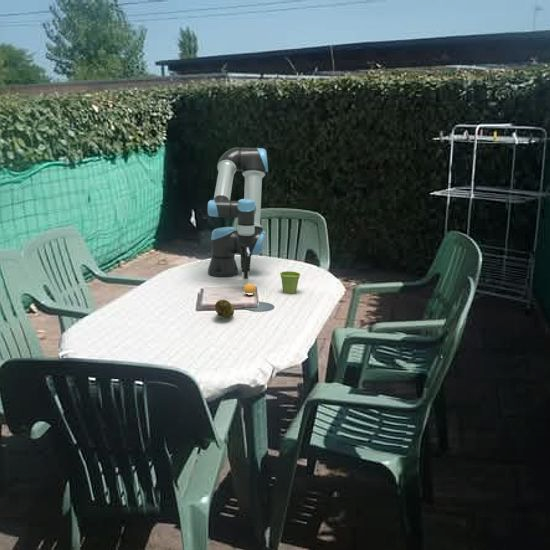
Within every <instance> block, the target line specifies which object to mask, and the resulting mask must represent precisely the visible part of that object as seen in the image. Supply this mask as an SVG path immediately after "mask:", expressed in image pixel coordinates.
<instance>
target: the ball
mask: <svg viewBox="0 0 550 550" xmlns="http://www.w3.org/2000/svg"><path fill="white" fill-rule="evenodd" d="M256 288H257V287H256V285H255V284H253V282H252V283H251V282H248V284H246V285H245V286H244V287H243V293H244V292H245V293H254V292H255V293H256V291H257V289H256ZM245 293H244V294H245ZM255 293H254V294H255Z"/></svg>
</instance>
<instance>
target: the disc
mask: <svg viewBox="0 0 550 550" xmlns="http://www.w3.org/2000/svg"><path fill="white" fill-rule="evenodd" d="M258 302H259V306H258V307H257V308H243V309H244V310H247V311H250V312H257V313H260V312H261V313H263V312H269V311H272V310H274V309H275V305H274V304H272V303H269V302H266V301H265V302H264V301H258Z"/></svg>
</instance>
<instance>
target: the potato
mask: <svg viewBox="0 0 550 550" xmlns="http://www.w3.org/2000/svg"><path fill="white" fill-rule="evenodd" d="M214 309H215V312H216V313H217V316H219V317H222V318H226V319H227V318H228V319H229V318H231V317H233V315H234V313H235V309H234V306H233V305H232V304H231V302H230V301H228V300H226V299H219V300H217V301H216V303H215V304H214Z"/></svg>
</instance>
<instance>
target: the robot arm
mask: <svg viewBox="0 0 550 550" xmlns="http://www.w3.org/2000/svg"><path fill="white" fill-rule="evenodd" d="M216 169H217V171H218V172H217V173H218V174H217V178H216V185H215V189H214V196H213V199H210V200H209V201H208V202H207V215H208V216H209V217H213V218H214V217H215V218H237V227H236V228H235V226H223V227H218V228H215V229H213V230H212V232H211V238H210V241H211V257H210V262H209V265H208V268H207V274H208V275H209V276H212V277H217V278H229V277H230V278H231V277H236V276H237V275H238V274H239V268H238V265H237V262H236V257H235V255H237V254H239V255H240V269H241V285H242V286H245V285H246V284H248V283H249V273H250V272H251V260H252V256H253V255H261V254H262V253H263V251H264V248H265V247H264V246H265V242H266V237H267V236H266V235H267V233H266V231H265V230H264V227H263V226H262V225H261V215H262V212H261V211H262V209H261V208H262V187H263V186H262V185H263V182H262V181H263V178H264V177H265V176H266V173H268V172H269V164H268V155H267V149H265V148H262V147H261V148H259V147H233V148H230V149H228V150H227V151H225V152H224V153H223V154H222V155H221V156H220V157H219V160H218V162H217V168H216ZM236 172H242V176H243V177H244V189H243V190H244V194H243V195H244V196H243V198H241V199H239V200H231V196H232V190H233V189H232V187H233V184H234V183H233V181H234V175H235V173H236Z"/></svg>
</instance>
